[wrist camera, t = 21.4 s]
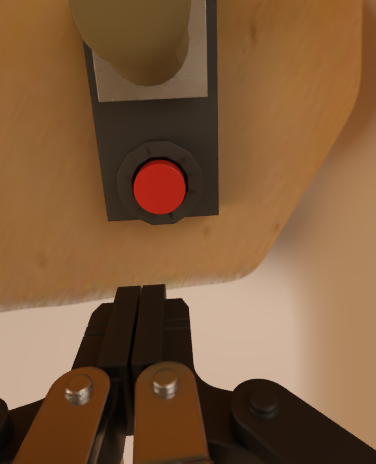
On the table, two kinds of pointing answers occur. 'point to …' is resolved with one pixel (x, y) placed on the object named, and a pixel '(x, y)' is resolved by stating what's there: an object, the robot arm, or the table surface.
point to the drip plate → (180, 86)
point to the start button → (159, 187)
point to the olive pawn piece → (136, 36)
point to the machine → (160, 142)
